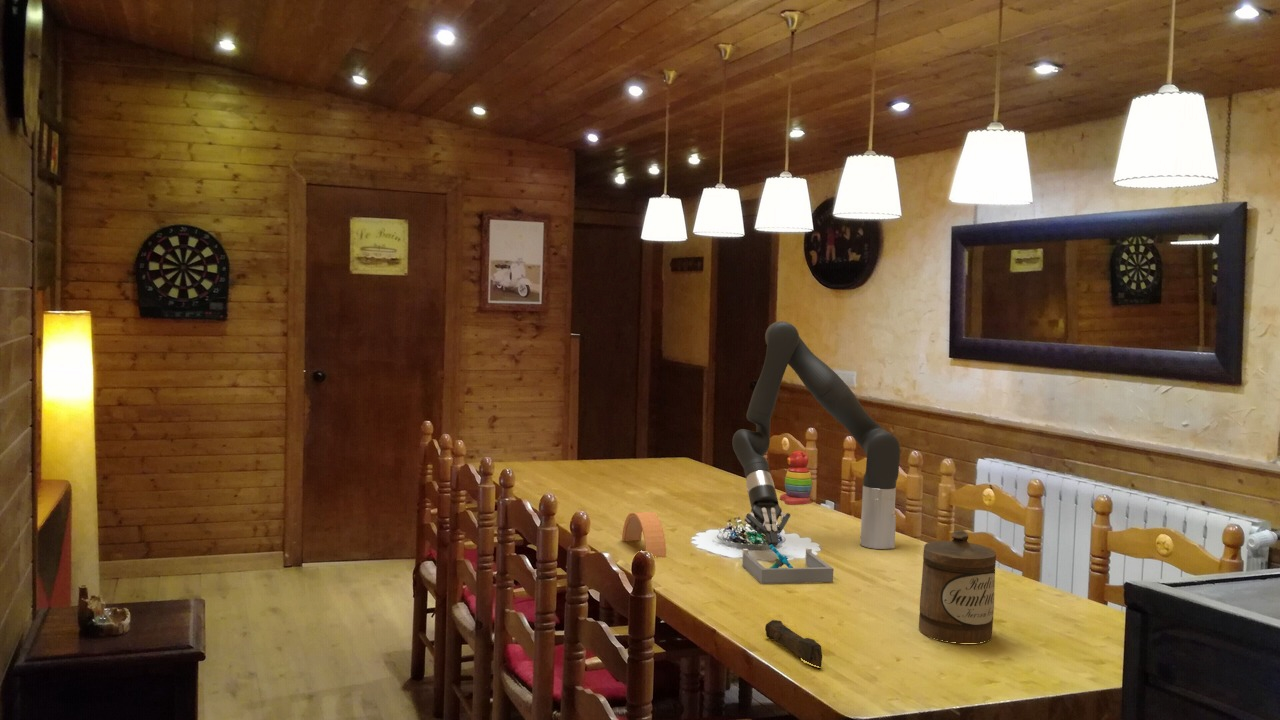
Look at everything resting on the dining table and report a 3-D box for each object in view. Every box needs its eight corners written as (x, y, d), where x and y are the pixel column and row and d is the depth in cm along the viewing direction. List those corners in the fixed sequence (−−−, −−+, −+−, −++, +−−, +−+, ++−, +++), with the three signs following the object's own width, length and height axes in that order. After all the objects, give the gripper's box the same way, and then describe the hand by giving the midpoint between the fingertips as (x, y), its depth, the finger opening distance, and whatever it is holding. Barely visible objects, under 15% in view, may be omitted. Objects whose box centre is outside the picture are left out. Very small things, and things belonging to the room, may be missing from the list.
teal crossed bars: (802, 574, 247) (774, 544, 248) (784, 590, 247) (756, 560, 248) (798, 568, 258) (771, 539, 259) (781, 584, 258) (754, 555, 259)
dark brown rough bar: (764, 638, 204) (764, 616, 204) (781, 637, 205) (782, 615, 205) (807, 673, 186) (807, 648, 186) (826, 671, 187) (827, 646, 187)
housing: (742, 565, 260) (742, 548, 259) (809, 564, 263) (810, 547, 263) (761, 583, 243) (762, 566, 243) (832, 582, 247) (833, 564, 246)
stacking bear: (778, 498, 351) (780, 448, 350) (806, 498, 353) (808, 448, 351) (786, 504, 341) (788, 453, 340) (815, 505, 342) (817, 453, 341)
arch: (645, 559, 264) (646, 521, 263) (621, 540, 283) (623, 506, 282) (666, 557, 266) (667, 520, 265) (641, 539, 285) (642, 505, 284)
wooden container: (955, 649, 201) (960, 541, 200) (903, 626, 214) (908, 525, 213) (1007, 639, 208) (1013, 535, 207) (955, 618, 221) (960, 520, 220)
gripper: (741, 483, 271) (753, 538, 260) (788, 483, 274) (801, 538, 262) (735, 498, 277) (746, 553, 265) (780, 498, 279) (793, 552, 268)
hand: (774, 545), depth 264 cm, fingers closed
